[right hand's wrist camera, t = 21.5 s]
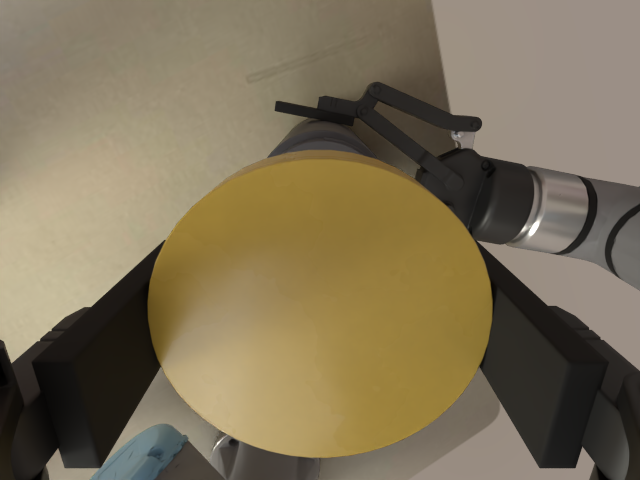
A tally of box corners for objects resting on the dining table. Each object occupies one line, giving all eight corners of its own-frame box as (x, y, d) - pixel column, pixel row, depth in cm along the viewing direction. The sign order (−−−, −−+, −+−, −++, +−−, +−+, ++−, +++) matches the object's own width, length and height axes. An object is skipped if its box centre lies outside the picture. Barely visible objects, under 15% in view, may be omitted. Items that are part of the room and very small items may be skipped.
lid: (138, 160, 10) (107, 171, 9) (482, 137, 10) (511, 145, 9) (198, 423, 14) (182, 465, 12) (460, 410, 13) (479, 451, 12)
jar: (352, 203, 42) (376, 279, 24) (276, 190, 42) (243, 259, 24) (368, 124, 39) (408, 146, 21) (287, 110, 39) (259, 120, 21)
